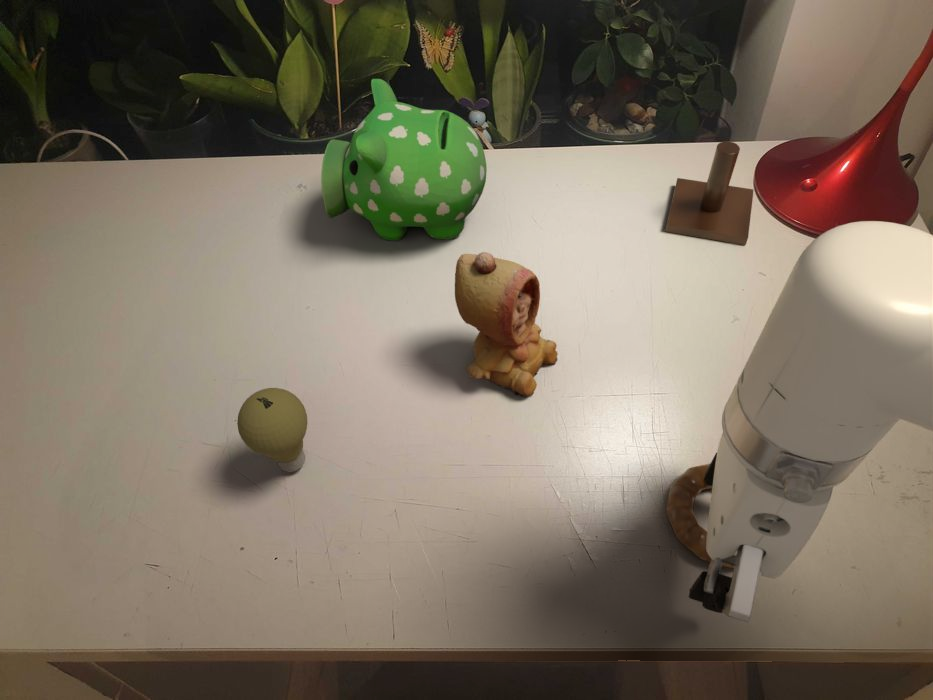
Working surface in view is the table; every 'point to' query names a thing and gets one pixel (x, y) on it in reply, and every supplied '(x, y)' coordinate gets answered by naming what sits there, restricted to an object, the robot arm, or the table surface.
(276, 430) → the light bulb
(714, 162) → the post
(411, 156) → the piggy bank
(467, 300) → the figurine
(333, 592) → the table surface
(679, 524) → the ring
